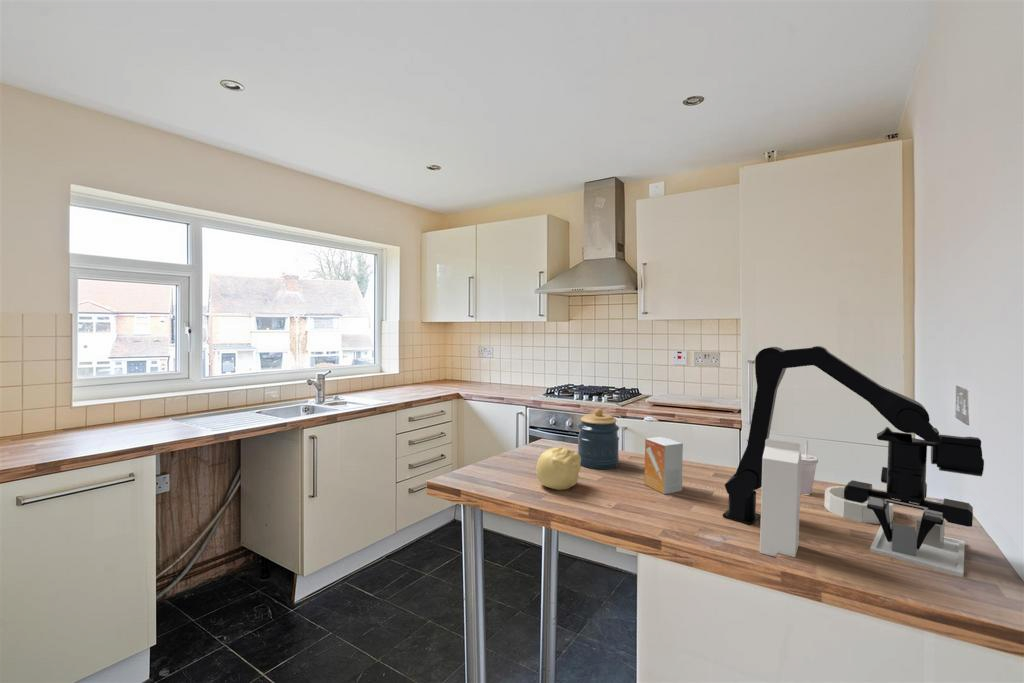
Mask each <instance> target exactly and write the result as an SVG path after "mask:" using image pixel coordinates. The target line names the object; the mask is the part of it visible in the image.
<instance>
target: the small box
mask: <svg viewBox="0 0 1024 683" xmlns="http://www.w3.org/2000/svg"><path fill="white" fill-rule="evenodd" d="M644 440H645V441H644V443H645V444H644V448H645V449H644V476H643V477H644V481H643V483H644V485H645V486H647V487H650V488H651V489H654V490H655V491H657V492H659V493H661V494H663V495H666V494H673V493H678V492H682V491H683V454H684V453H683V452H684V451H683V450H684V445H683V443H682V442H679V441H677V440H674V439H671V438H668V437H664V436H656V437H654V436H653V437H647V438H645V439H644Z"/></svg>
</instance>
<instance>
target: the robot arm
mask: <svg viewBox="0 0 1024 683" xmlns="http://www.w3.org/2000/svg"><path fill="white" fill-rule="evenodd" d="M808 366H814V367H816V368H817V369H819V370H821V371H822V372H824V373H825V374H827V375H828V376H830V377H831V378H833V379H834V380H836V381H838V382H839V383H840V384H842V385H843V386H845V387H846V388H847V389H849V390H850V391H852V392H853V393H855V394H856V395H858V396H859V397H861V398H863V400H865V401H866V402H868V403H869V404H870V405H871V406H872V407H873V408H874V409H875V410H877V412H879V413H880V415H881V416H882V417H884V419H886V420H887V422H888V423H890V424H891V425H892V426H893V427H894V428H895V429H896V430H897V431H893V430H892V429H891V428H890V427H889V426H885V427H884V429H883V430H882V431H879V432H878V433H876V439H877V440H879V441H885V442H887V465H886V466H887V467H886V466H882V467H881V475H880V482H881V483H883V484H886V491H883V490H878V489H873V484H872V483H868V482H862V481H858V480H850V481H849V482H847V484H846V485H845V489H844V499H846V500H850V501H855V502H859V503H864V502H865V501H867V500H868V504H867V508H868V509H872V510H873V511H874V513H875V515H876V516H877V518H878V520H879V522H880V524H879V525H880V526H882V529H883V531H884V534H885V536H886V539H887V541H888V542H890V541H891V526H890V516H889V503H893V504H894V505H898V506H903V507H908V508H912V509H915V510H916V509H917V510H921V511H923V513H922V515H921V516H922V520H921V524H920V529H919V533H918V537H917V549H918V550H919V549H920V547H921V545H922V543H923V541H924V539H925V537H926V535H927V534H928V533H929V531H930V530H931V529H932V528H933V527H934V525H935V524H938V525H943V522H945V521H946V522H947V523H949V524H950V523H951V524H955V525H958V526H963V527H973V519H974V518H973V517H974V516H973V514H974V510H973V509H974V508H973V506H972V505H971V503H969V502H965V501H960V500H954V499H950V498H943V502H942V503H941V502H937V501H933V500H932V501H931V500H926V498H927V493H928V491H927V490H928V489H927V488H928V485H927V482H926V480H927V456H928V447H930V464H931V465H936V468H938V471H941V472H947V473H948V472H949V473H956V474H961V475H968V476H976V477H982V476H983V474H984V468H985V460H984V458H983V449H982V440H981V438H979V437H974V436H956V435H949V434H948V435H947V434H940V431H939V430H938V428H936V427H934V426H933V425H932V424H931V422H930V414H929V413H928V411H927V409H926V407H924V405H923V404H922V403H920V401H917V400H915V399H912V398H910V397H908V396H906V395H903V394H901V393H900V392H897V391H894V390H891V389H890V388H887V387H884V386H883V385H881V384H879V383H877V382H876V381H875V380H873V379H871V378H870V377H868V376H867V375H865V374H863V373H862V372H861V371H859V370H858V369H856V368H854V367H853V366H851V365H850V364H849V363H847V362H845V361H843V360H842V359H841V358H839V357H838V356H836V355H834V354H832V352H830V351H829V350H828V349H827V348H826V347H824V346H821V345H816V346H815V345H814V346H812V347H806V348H804V347H803V348H793V349H783V348H781V347H777V346H770V347H767V348H763V349H761V350H759V351H758V353H756V355H755V358H754V371H755V372H754V374H755V380H756V392H755V397H754V398H755V399H754V404H753V409H752V410H753V411H752V415H751V422H750V428H749V434H748V439H747V445H746V448H745V450H744V452H743V455H742V457H741V458H740V461H739V464H738V465H737V469H736V471H735V473H734V474H733V475H732V476H731V477H730V478H729V479H728V480H727V482H725V484H724V488H725V491H726V493H727V495H728V503H727V504H728V507H727V510H726V511H724V513H722V517H723V518H727V519H730V520H734V521H736V522H741V523H744V524H748V525H753V524H755V523H756V522H758V520H759V519H761V513H757V491H756V490H758V489H762V458H763V453H764V449H765V440H766V439H770V433H771V427H772V422H773V417H774V416H773V415H774V411H775V405H776V401H777V400H776V399H777V393H778V388H779V386H780V385H781V382H782V380H783V378H784V376H785V373H786V370H787V369H790V368H801V367H808ZM899 431H900V432H899ZM912 434H914V435H916V436H918V437H919V438H915V437H913V435H912ZM920 438H921V439H920Z"/></svg>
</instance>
